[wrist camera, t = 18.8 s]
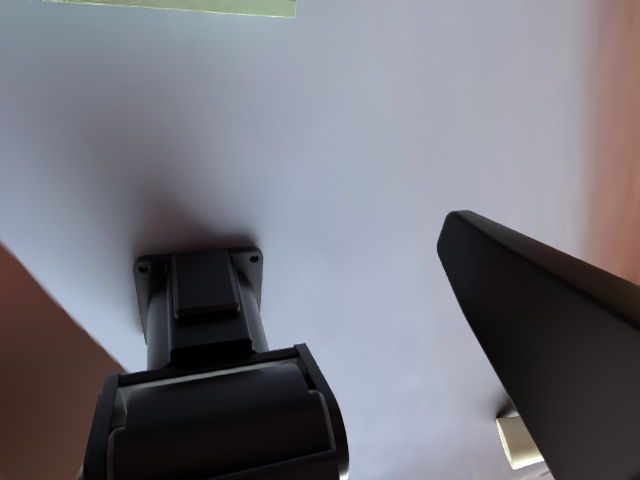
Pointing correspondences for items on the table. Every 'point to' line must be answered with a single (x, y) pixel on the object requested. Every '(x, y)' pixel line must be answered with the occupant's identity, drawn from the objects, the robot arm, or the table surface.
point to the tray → (208, 6)
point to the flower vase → (517, 442)
